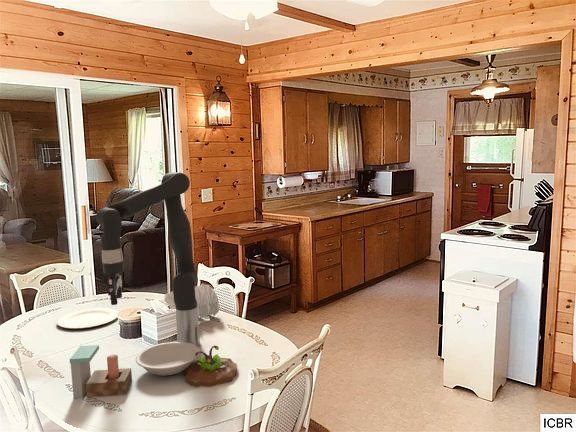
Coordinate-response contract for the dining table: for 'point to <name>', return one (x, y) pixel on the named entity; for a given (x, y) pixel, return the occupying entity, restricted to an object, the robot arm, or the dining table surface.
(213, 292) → the grey rounded lump
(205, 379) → the plant
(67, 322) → the plate
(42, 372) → the dining table surface
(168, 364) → the soup bowl
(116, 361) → the peg
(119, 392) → the socket
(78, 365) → the teal-topped grey pillar
